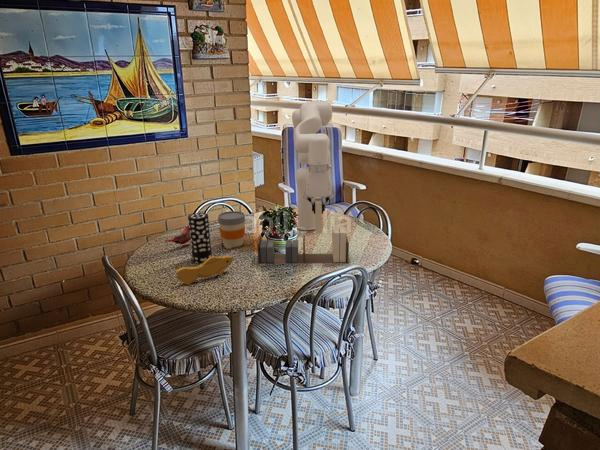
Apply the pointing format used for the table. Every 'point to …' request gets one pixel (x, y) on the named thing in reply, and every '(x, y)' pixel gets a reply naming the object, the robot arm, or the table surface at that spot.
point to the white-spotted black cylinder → (200, 237)
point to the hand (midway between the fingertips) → (318, 212)
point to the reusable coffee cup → (232, 228)
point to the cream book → (318, 215)
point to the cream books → (339, 244)
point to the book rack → (304, 256)
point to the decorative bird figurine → (181, 237)
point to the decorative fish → (204, 269)
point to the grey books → (268, 251)
